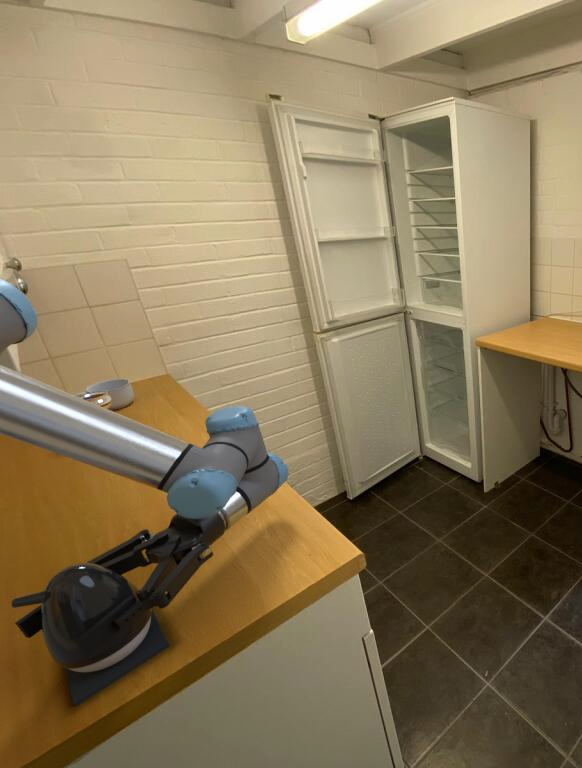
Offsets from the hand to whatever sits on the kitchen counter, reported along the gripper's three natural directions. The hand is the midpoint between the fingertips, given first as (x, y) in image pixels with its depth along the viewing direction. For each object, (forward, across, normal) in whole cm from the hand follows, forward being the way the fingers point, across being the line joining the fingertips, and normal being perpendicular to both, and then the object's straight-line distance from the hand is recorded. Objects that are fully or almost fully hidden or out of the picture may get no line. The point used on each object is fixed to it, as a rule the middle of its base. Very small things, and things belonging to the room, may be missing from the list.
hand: (50, 639), depth 52 cm
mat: (-4, 0, -9) cm, 10 cm away
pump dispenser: (-4, 0, -8) cm, 9 cm away
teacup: (-65, +93, -9) cm, 114 cm away
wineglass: (-53, +75, -9) cm, 92 cm away
